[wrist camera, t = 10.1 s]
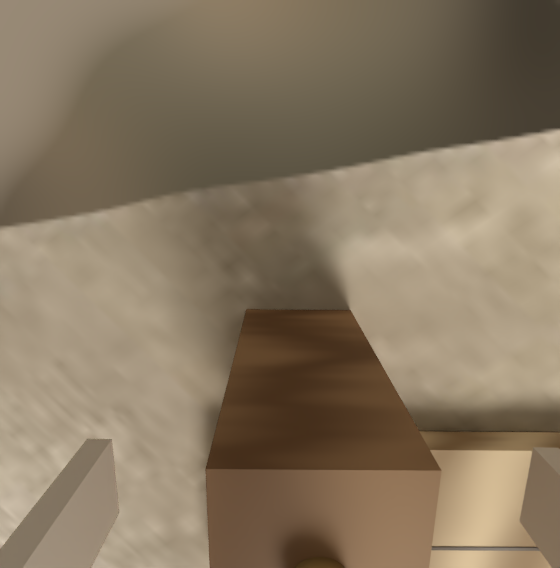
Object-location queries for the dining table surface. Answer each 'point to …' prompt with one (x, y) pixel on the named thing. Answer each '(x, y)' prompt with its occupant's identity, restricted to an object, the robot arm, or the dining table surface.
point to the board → (484, 498)
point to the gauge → (316, 453)
